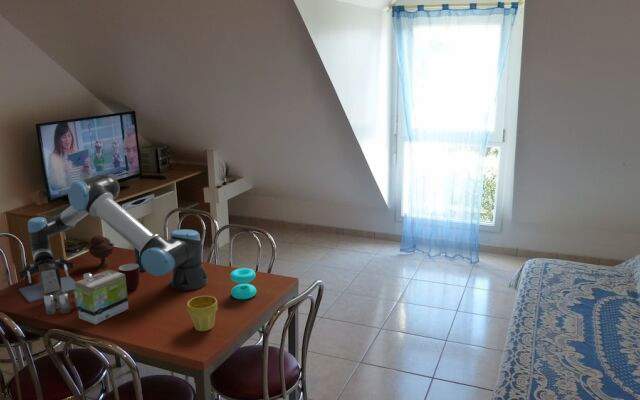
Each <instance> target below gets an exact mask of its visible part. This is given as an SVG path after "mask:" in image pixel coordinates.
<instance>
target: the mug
mask: <svg viewBox="0 0 640 400" xmlns="http://www.w3.org/2000/svg"><path fill="white" fill-rule="evenodd" d="M118 272H119V273H123V274H125V276H126V287H127V293H128V292H135V291H137V290H138V287H139V284H140V278H141V277H140V276H141V270H140V268H139V265H138V264H136V262H134V263H133V262H132V263H131V262H130V263H125V264H122V265H120V266H119V267H118Z"/></svg>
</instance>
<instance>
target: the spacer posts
mask: <svg viewBox="0 0 640 400" xmlns="http://www.w3.org/2000/svg"><path fill="white" fill-rule="evenodd" d="M82 276H83V279H85V278H88V277H90V276H93V274H92V273H91V272H86V273H84V274H83V275H82ZM58 296H59V303H60V308H59V310H60V314H67V313H69V312H71V308H70V302H69V295H68V293H65V292H64V293H60V294H59V295H58ZM73 296H74V303H75V304H74V305H75V309H77V310H78V303H77V295H76V289H75V290H74V291H73ZM43 302H45V303H44V307H45V314H46V315H53V314H55V313H56V309H55V305H54V298H53V294H46V295H44V299H43Z"/></svg>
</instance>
